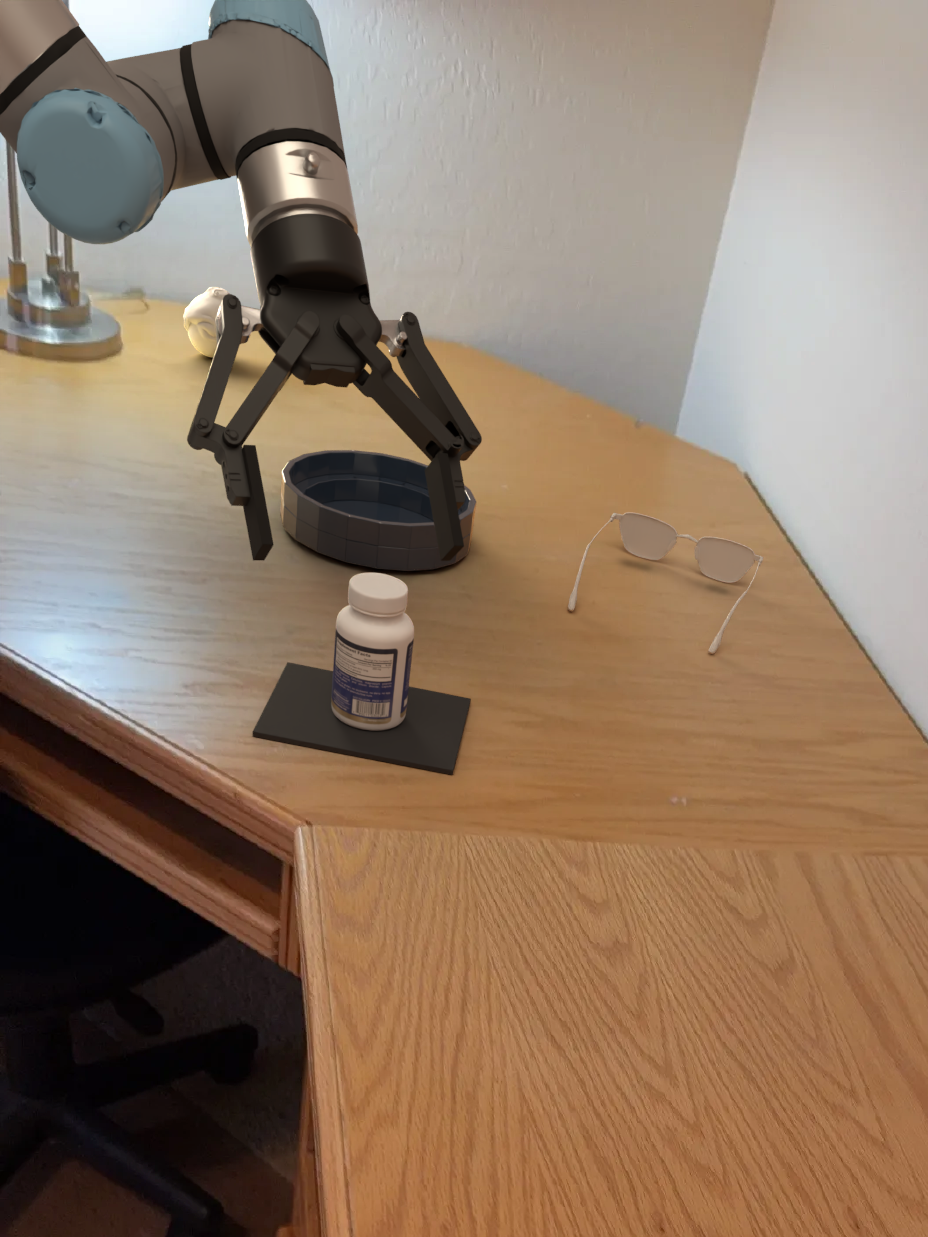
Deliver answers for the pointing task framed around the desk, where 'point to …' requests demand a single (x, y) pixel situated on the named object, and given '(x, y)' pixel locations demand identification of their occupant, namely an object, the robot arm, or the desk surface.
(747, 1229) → the desk surface
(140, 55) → the robot arm
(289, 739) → the mat
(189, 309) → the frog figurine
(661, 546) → the eyeglasses
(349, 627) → the pill bottle
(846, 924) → the desk surface
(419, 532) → the bowl
